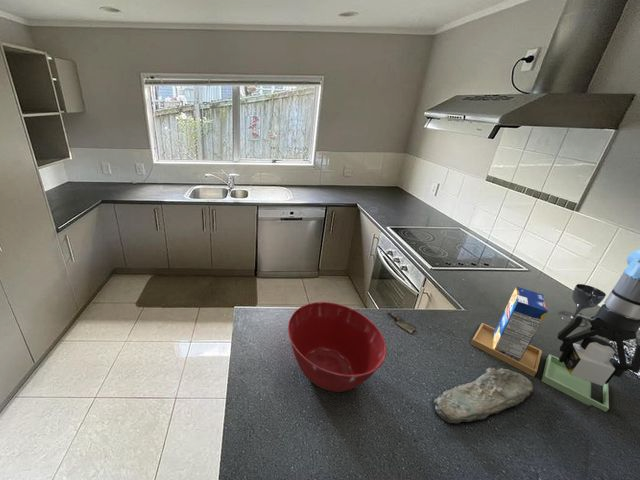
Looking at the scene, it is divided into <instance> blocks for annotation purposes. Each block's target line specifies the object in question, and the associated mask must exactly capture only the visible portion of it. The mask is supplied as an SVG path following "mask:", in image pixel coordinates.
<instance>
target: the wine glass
mask: <svg viewBox="0 0 640 480" xmlns="http://www.w3.org/2000/svg"><path fill="white" fill-rule="evenodd" d="M606 297H607V294H606V293H605V292H604V291H603V290H601V289H599V288H597V287H594V286H591V285H588V284H582V283H577V284H576V285H575V286H574V289H573V290H572V294H571V299H572V301H573V303H574V304H575V307H576V308H575V312H574V314H573V315H571V314H567V313H560V314H559V316H560V318H561V319H562V320H564V321H565V322H567V323H568V324H570V323H571V322H572V321H573V320H574V319H575V318H576V315H577V313H580V312H581V311H583V310H586V309H591V308H596V307H597V306H599V305H600V304H601V303H602V302H603V301H604V299H606ZM585 324H586V323H581V324H580V326H579V327H584V326H586V325H585Z"/></svg>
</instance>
